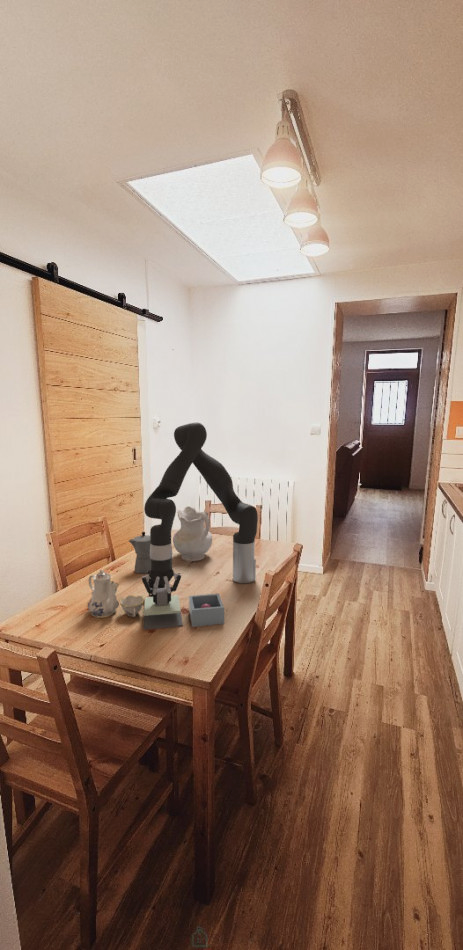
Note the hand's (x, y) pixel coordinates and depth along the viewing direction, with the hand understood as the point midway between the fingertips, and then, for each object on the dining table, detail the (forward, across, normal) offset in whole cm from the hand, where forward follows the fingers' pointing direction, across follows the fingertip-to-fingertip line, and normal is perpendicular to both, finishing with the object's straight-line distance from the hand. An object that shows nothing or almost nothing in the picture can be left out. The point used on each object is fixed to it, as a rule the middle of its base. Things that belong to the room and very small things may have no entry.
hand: (162, 602), depth 144 cm
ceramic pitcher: (+6, -17, -58) cm, 61 cm away
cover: (+1, 0, 0) cm, 1 cm away
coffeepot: (+6, +6, -46) cm, 47 cm away
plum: (+3, -15, +2) cm, 15 cm away
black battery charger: (+6, +2, -17) cm, 18 cm away
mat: (+6, 0, 0) cm, 6 cm away
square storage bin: (+6, -15, +2) cm, 16 cm away
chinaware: (+6, +18, -10) cm, 22 cm away
